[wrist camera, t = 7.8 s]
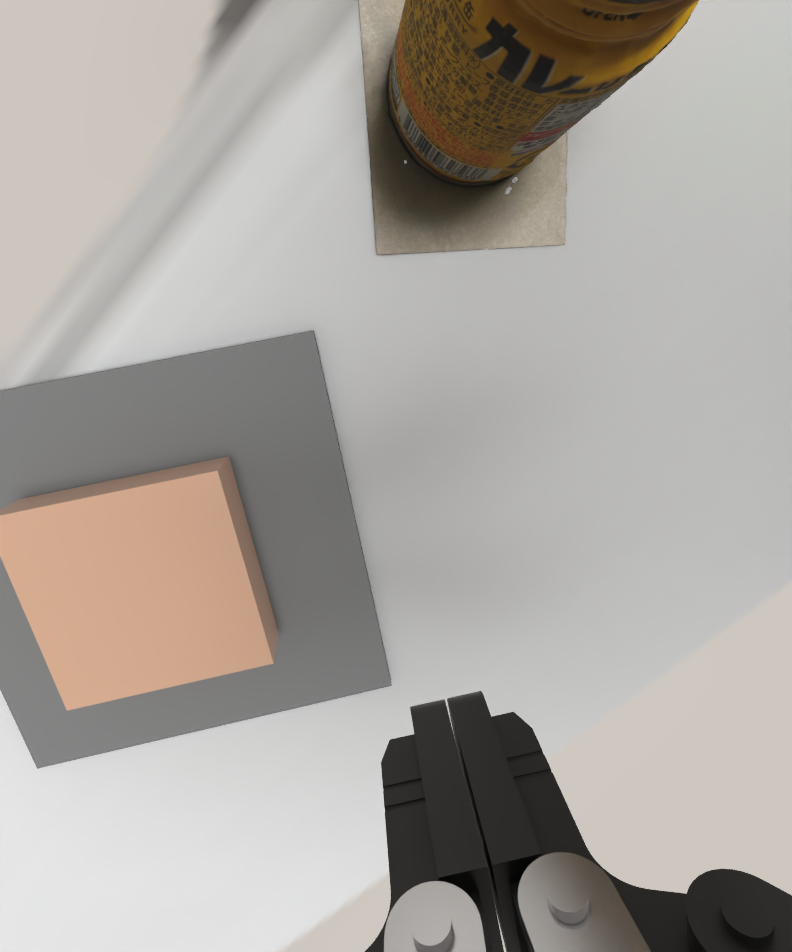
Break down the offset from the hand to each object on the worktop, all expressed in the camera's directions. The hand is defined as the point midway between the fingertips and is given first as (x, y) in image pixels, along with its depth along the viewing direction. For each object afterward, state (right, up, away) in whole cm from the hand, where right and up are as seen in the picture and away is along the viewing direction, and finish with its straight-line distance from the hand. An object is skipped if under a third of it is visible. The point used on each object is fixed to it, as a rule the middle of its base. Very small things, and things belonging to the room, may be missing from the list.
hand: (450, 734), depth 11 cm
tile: (-7, +2, +10) cm, 12 cm away
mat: (-11, +2, +11) cm, 16 cm away
